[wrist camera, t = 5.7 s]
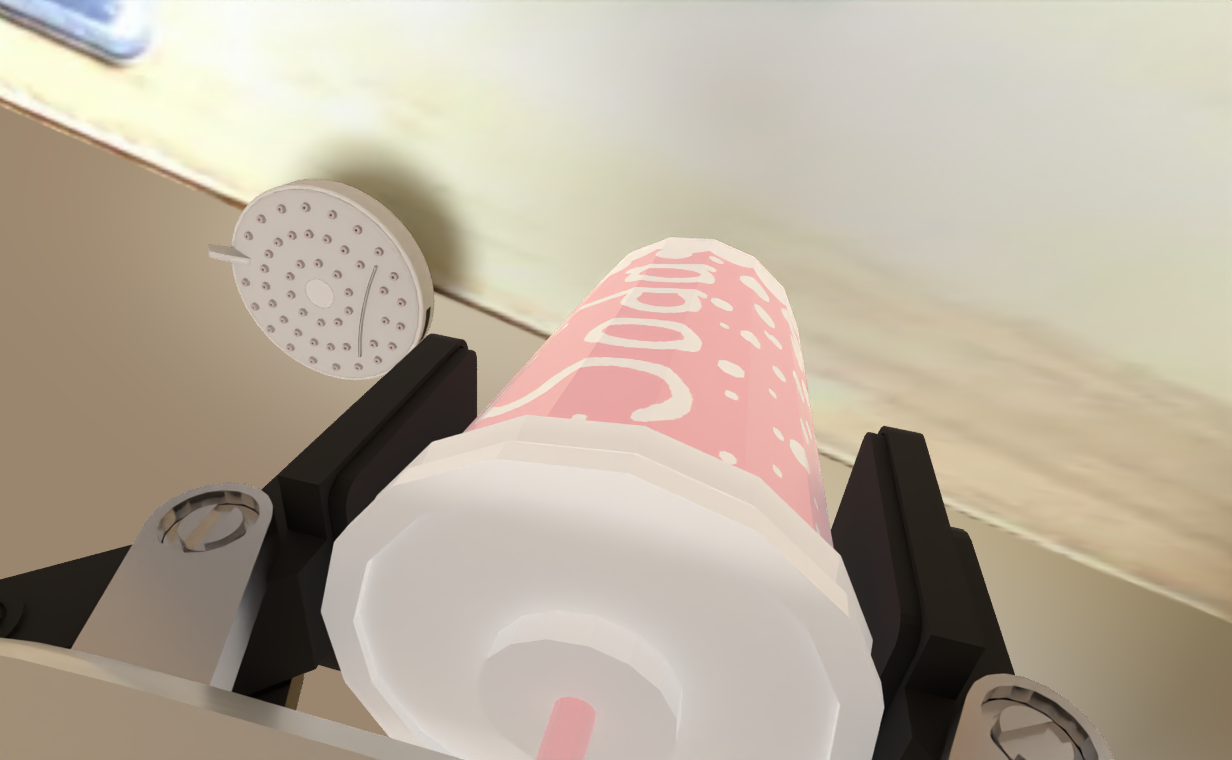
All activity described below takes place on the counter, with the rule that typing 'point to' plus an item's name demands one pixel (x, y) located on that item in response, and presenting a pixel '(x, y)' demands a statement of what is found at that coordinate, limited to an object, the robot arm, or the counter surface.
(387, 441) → the robot arm
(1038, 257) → the counter surface
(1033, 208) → the counter surface
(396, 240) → the showerhead
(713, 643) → the beverage cup
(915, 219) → the counter surface
